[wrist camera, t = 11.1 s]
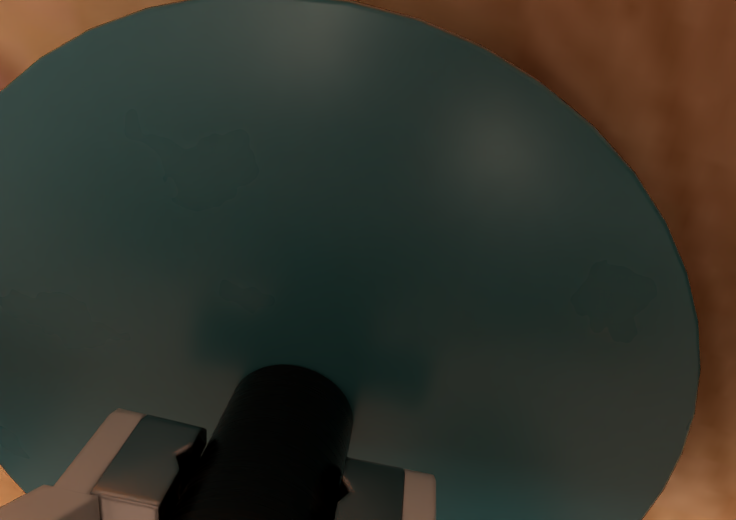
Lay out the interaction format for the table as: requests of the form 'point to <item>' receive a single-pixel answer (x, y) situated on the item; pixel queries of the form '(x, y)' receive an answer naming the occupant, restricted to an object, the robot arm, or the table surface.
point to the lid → (335, 267)
